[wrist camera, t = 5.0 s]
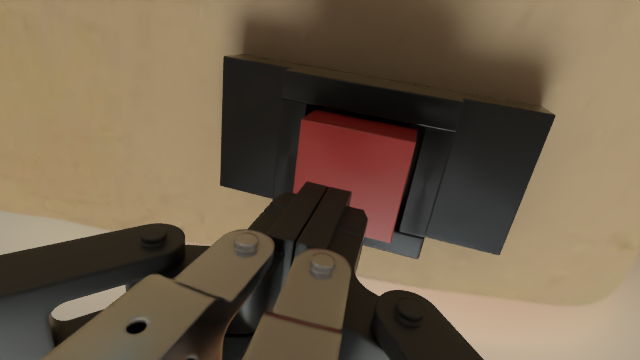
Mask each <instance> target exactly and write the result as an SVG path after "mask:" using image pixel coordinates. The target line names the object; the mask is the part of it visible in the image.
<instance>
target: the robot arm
mask: <svg viewBox="0 0 640 360" xmlns="http://www.w3.org/2000/svg"><path fill="white" fill-rule="evenodd" d="M351 195H352V192H351V191H346V190H342V189H338V188H334V187H328V186H325V185H321V184H316V183H312V182H308V181H307V182H306V183H305V184H304V185H303V186H302V188H301V189H300V190H299V192H298V193H297V194H296V193H292V192H286V193H284V194H281V195H279V196H277V197H275V199H274V200H273V201H272V202H271V203H270V205H269V206H268V207H267V208H266V209H265V210H264V212H262V213H261V214H260V216H259V217H258V218H257V219H256V220H255V221H254V222H253V224H252V225H251V226H250V227H249V228H248V229H244V230H236V231H232V232H229V233H227V234H225V235H223V236H222V237H221V238H220V239H219V240H217V241H216V242H215V243H214V244H213V245H212V246H197V245H185V234H184V232H183V231H182V230H181V229H180V228H178V227H176V226H173V225H169V224H162V223H156V224H148V225H142V226H138V227H133V228H128V229H123V230H119V231H114V232H109V233H104V234H99V235H95V236H90V237H86V238H80V239H75V240H71V241H66V242H61V243H57V244H52V245H47V246H42V247H37V248H33V249H28V250H23V251H18V252H13V253H9V254H4V255H0V360H483V358H482V357H481V356H480V355H479V354H478V353H477V352H476V351H475V350H474V349H473V347H472V346H471V345H470V344H469V343H468V342H467V341H466V340H465V339H464V338H463V337H462V335H461V334H460V333H459V332H458V331H457V330H456V329H455V328H454V327H453V326H452V325H451V323H450V322H449V321H447V319H446V318H445V317H444V316H443V315H442V314H441V313H440V312H439V310H437V308H436V307H435V306H434V305H433V304H432V303H431V302H429V301H428V300H426V299H425V298H423V297H422V296H420V295H418V294H415V293H412V292H409V291H403V290H393V291H388V292H386V293H384V294H382V295H381V296H377V295H376V294H374V293H372V292H371V291H369V290H368V289H366V288H365V287H364V286H363V285H362V284H361V283H360V282H359V281H358V279H357V277H356V275H355V273H356V269H357V266H358V262H359V259H360V254H361V250H362V245H363V240H364V236H365V231H366V227H367V222H368V218H367V216H366V214H365V211H364V210H362V209H358V208H354V207H350V201H351ZM121 285H126V293H124V294H123V295H122V296H121V297H120V298H118V299H117V300H116V301H114V302H113V303H112V304H110V305H109V306H108V307H107V308H106V309H103V310H100V311H97V312H94V313H91V314H88V315H85V316H81V317H78V318H75V319H72V320H68V321H59V320H56V319H54V318H53V317H52V315H51V312H52V311H53V310H54V308H56V307H57V306H59V305H60V304H62V303H64V302H67V301H70V300H73V299H77V298H80V297H84V296H87V295H91V294H94V293H98V292H101V291H104V290H108V289H111V288H114V287H118V286H121Z"/></svg>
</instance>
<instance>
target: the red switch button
mask: <svg viewBox="0 0 640 360" xmlns="http://www.w3.org/2000/svg"><path fill="white" fill-rule="evenodd" d="M416 137H417V129H413V128H408V127H403V126H398V125H393V124H388V123H383V122H378V121H373V120H368V119H363V118H357V117H352V116H347V115H342V114H337V113H332V112H327V111H322V110H317V109H316V110H314V111H313V112H311V113H310V114H308V115H307V116H305V117H304V118H302V120H301V126H300V135H299V143H298V152H297V161H296V169H295V178H294V186H293V193H296V194H297V193H298V192H299V190H300V189H301V188H302V186H303V185H304V184H305V183H306V182H307V181H308V182H312V183H316V184H321V185H325V186H328V187H334V188H338V189H342V190H346V191H351V192H352V195H351V201H350V207H354V208H358V209H362V210H364V211H365V214H366V216H367V218H368V222H367V227H366V231H365V236H364V237H368V238H372V239H375V240H379V241H383V242H387V243H391V240H392V236H393V232H394V228H395V224H396V220H397V216H398V212H399V208H400V204H401V201H402V197H403V193H404V189H405V185H406V181H407V177H408V173H409V169H410V165H411V161H412V157H413V153H414V149H415V145H416Z"/></svg>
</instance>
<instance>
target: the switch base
mask: <svg viewBox="0 0 640 360" xmlns="http://www.w3.org/2000/svg"><path fill="white" fill-rule="evenodd" d="M316 109H317V110H322V111H327V112H332V113H337V114H342V115H347V116H352V117H357V118H363V119H368V120H373V121H378V122H383V123H388V124H393V125H398V126H403V127H408V128H413V129H417V137H416V145H415V149H414V153H413V157H412V161H411V165H410V169H409V173H408V177H407V181H406V185H405V189H404V193H403V197H402V201H401V204H400V208H399V212H398V216H397V220H396V224H395V228H394V232H393V236H392V240H391V243H387V242H383V241H379V240H375V239H372V238H368V237H364V240H363V245H365V246H369V247H373V248H376V249H380V250H384V251H388V252H392V253H395V254H399V255H403V256H407V257H411V258H414V259H418V258H419V255H420V252H421V248H422V245H423V242H424V237H428V238H432V239H436V240H440V241H444V242H448V243H452V244H456V245H460V246H464V247H468V248H472V249H476V250H480V251H484V252H488V253H492V254H496V255H500V252H501V250H502V248H503V245H504V243H505V240H506V238H507V235H508V233H509V230H510V228H511V225H512V223H513V220H514V218H515V215H516V213H517V210H518V208H519V205H520V203H521V200H522V198H523V195H524V193H525V190H526V188H527V185H528V183H529V180H530V178H531V175H532V173H533V171H534V168H535V166H536V163H537V161H538V158H539V156H540V153H541V151H542V148H543V146H544V143H545V141H546V138H547V136H548V133H549V131H550V128H551V126H552V123H553V121H554V118H555V114H553V113H551V112H550V111H548V110H546V109H545V108H543V107H542V106H537V105H531V104H525V103H519V102H514V101H508V100H502V99H496V98H491V97H485V96H479V95H474V94H468V93H462V92H456V91H451V90H445V89H439V88H433V87H428V86H422V85H416V84H410V83H405V82H399V81H393V80H387V79H382V78H376V77H370V76H364V75H359V74H353V73H347V72H341V71H336V70H330V69H324V68H318V67H313V66H307V65H301V64H295V63H290V62H284V61H278V60H273V59H267V58H261V57H255V56H250V55H244V54H240V55H231V56H224V63H223V100H222V137H221V175H220V186H224V187H228V188H232V189H236V190H240V191H244V192H248V193H252V194H256V195H260V196H264V197H268V198H272V199H273V200H274V199H275V197H277V196H279V195H281V194H284V193H286V192H292V193H293V186H294V178H295V169H296V161H297V152H298V143H299V135H300V126H301V120H302V118H304V117H305V116H307V115H308V114H310V113H311V112H313V111H314V110H316Z"/></svg>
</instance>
